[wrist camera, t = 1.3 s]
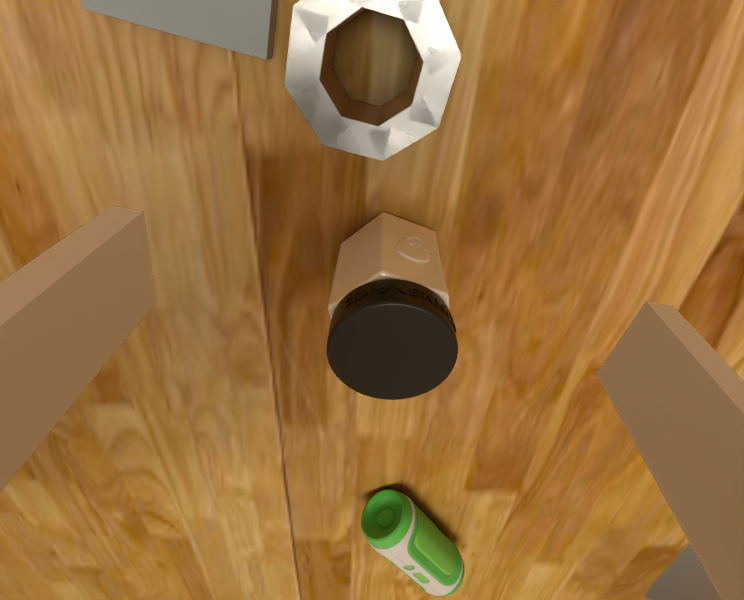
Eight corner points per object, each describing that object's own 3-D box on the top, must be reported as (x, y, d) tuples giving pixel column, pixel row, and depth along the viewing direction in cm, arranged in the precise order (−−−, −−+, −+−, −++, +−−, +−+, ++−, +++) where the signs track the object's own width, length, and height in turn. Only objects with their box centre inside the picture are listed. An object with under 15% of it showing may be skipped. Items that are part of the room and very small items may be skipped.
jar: (461, 237, 34) (490, 329, 24) (419, 311, 38) (430, 415, 29) (357, 198, 32) (343, 279, 23) (327, 281, 37) (304, 379, 27)
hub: (297, 113, 29) (278, 133, 24) (318, -46, 24) (300, -61, 19) (418, 145, 30) (424, 171, 25) (462, -1, 25) (480, -4, 20)
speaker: (358, 492, 56) (355, 551, 50) (406, 477, 54) (408, 537, 47) (419, 548, 64) (423, 605, 58) (463, 537, 62) (471, 596, 56)
